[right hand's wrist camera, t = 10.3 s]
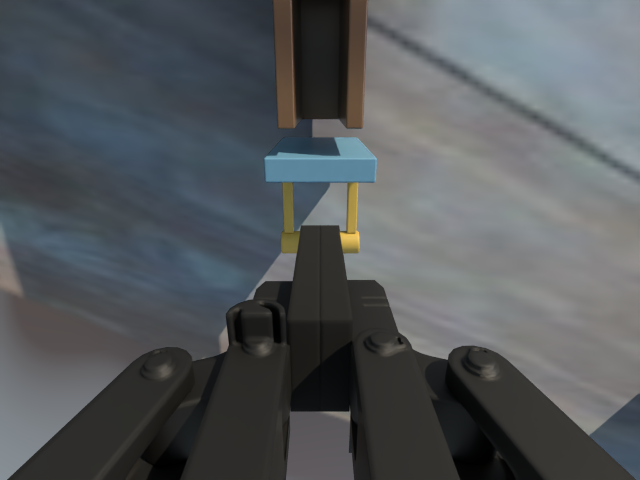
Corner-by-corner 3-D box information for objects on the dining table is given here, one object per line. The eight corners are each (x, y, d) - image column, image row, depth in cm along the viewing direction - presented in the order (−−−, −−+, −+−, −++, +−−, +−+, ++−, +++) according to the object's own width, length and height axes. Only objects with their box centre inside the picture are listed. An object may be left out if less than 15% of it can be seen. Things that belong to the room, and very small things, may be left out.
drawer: (354, 226, 29) (369, 284, 20) (285, 226, 29) (270, 284, 20) (370, -212, 20) (413, -472, 11) (270, -212, 20) (228, -473, 11)
